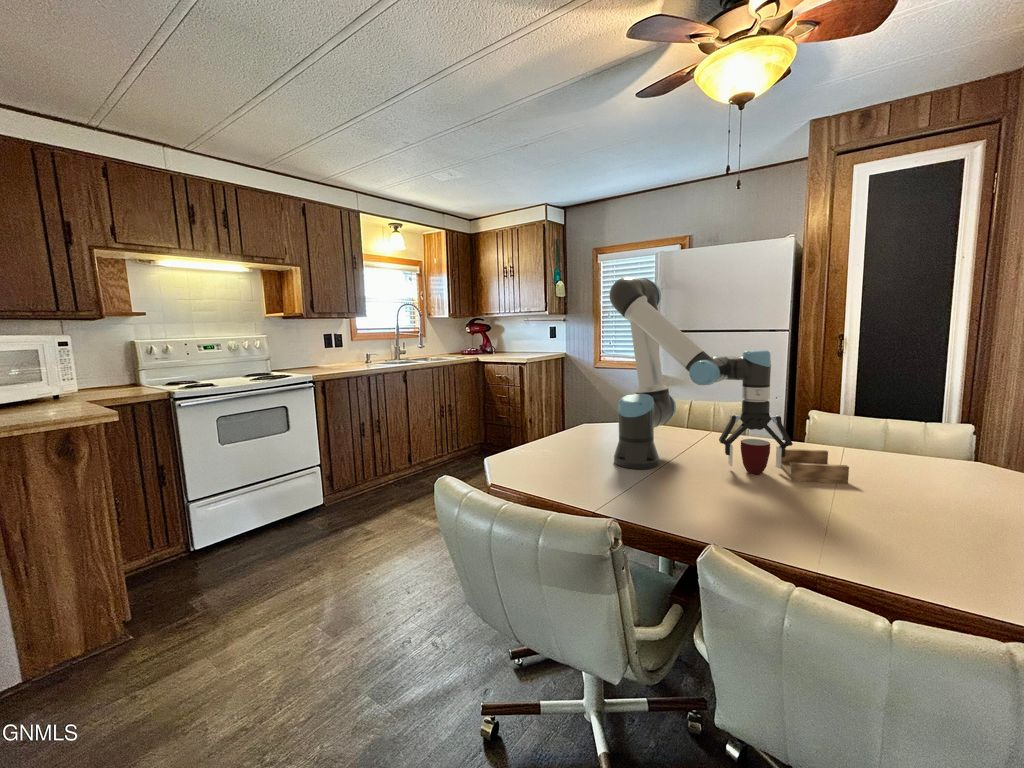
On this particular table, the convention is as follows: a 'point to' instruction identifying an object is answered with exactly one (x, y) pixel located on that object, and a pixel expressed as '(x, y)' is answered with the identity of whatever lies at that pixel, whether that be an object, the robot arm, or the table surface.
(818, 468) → the rack
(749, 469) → the mug
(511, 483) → the table surface
